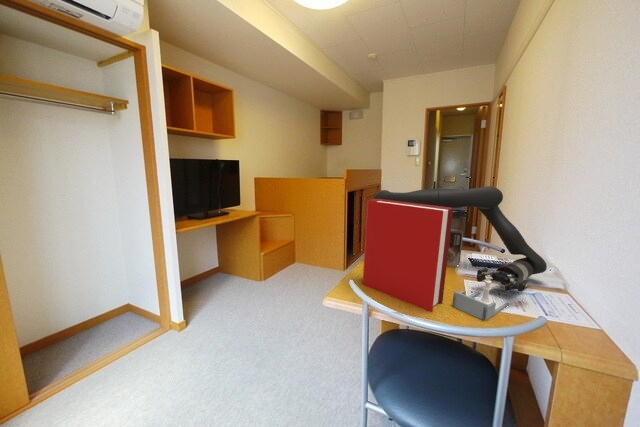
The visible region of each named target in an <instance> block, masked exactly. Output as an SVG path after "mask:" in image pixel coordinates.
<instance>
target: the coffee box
mask: <svg viewBox="0 0 640 427" xmlns="http://www.w3.org/2000/svg"><path fill="white" fill-rule="evenodd" d="M463 236H464V230H463V229H462V230H461V229H453V228H451V233H450V242H449V250H448V259H447V266H448V267H454V268H457V267H456V266H457V265H459V263H460V264H461V255H462V246H463ZM459 266H460V265H459Z"/></svg>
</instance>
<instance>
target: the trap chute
mask: <svg viewBox="0 0 640 427" xmlns="http://www.w3.org/2000/svg"><path fill="white" fill-rule="evenodd" d="M481 294H482V293H481V291H475V293H472V294H470V295H466V290H462V291H456V290H455V291H453V296H452V297H453V298H452V304H451V306H452V307H453V308H455V309H458V310H460V311H462V312H464V313H466V314H468V315H471V316H473V317H475V318H477V319H479V320H481V321H484V322H485V321H488V320H489V319H491V318H492V317H494V316H495V315H497V314H498V313H500V312H502V311H503V310H505V309H507V308H508V307H510V306H509V305H511V303H510V302H505V303H503V304H502V305H500V306H499V307H497V308H496V305H497V303H496V302H495V301H491V302H492V303H490V304H489V305H488V304H486V303H483V302H481V301H478V300H477V299H476V297H478V296H479V295H481ZM507 306H508V307H507ZM506 307H507V308H506ZM504 308H505V309H504ZM501 310H502V311H501Z"/></svg>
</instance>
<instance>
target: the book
mask: <svg viewBox="0 0 640 427" xmlns="http://www.w3.org/2000/svg"><path fill="white" fill-rule="evenodd" d="M453 214H454V208H450V207H442V206H434V205H426V204H417V203H409V202H401V201H393V200H384V199H374V198H371V199H367V203H366V218H365V219H366V220H365V237H364V238H365V239H364V252H363V253H364V254H363V255H364V256H363V267H362V268H363V272H362V285H363V286H364V287H367V288H369V289H372V290H375V291H377V292H380V293H382V294H384V295H387V296H389V297H391V298H392V297H393V298H394V299H398V300H400V301H402V302H405V303H408V304H410V305H413V306H414V307H415V306H416V308H417V307H418V308H420V309H423V310H425V311H428V312H430V313H433V311H434V306H436V305H437V304H443V301H444V292H445V283H446V277H447V276H446V274H447V266H448V265H447V259H448V250H449V242H450V233H451V229H452V224H453V223H452V222H453Z"/></svg>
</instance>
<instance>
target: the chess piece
mask: <svg viewBox="0 0 640 427" xmlns="http://www.w3.org/2000/svg"><path fill="white" fill-rule="evenodd" d="M485 277H486V279H487V280H484V285H485V286H483V289H484V292H483V295H482V297H481V298H477V299H476V300H478V301H481V302H483V303H486V304H488V305H489V304H490V303H492V302H493V301H491V300H490V298H489V291H490V290H491V289H492V288H491V287H490V286H491V285H492V282H491V281H490V280H489V279H492V277H490V275H488V277H487V276H485Z"/></svg>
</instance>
